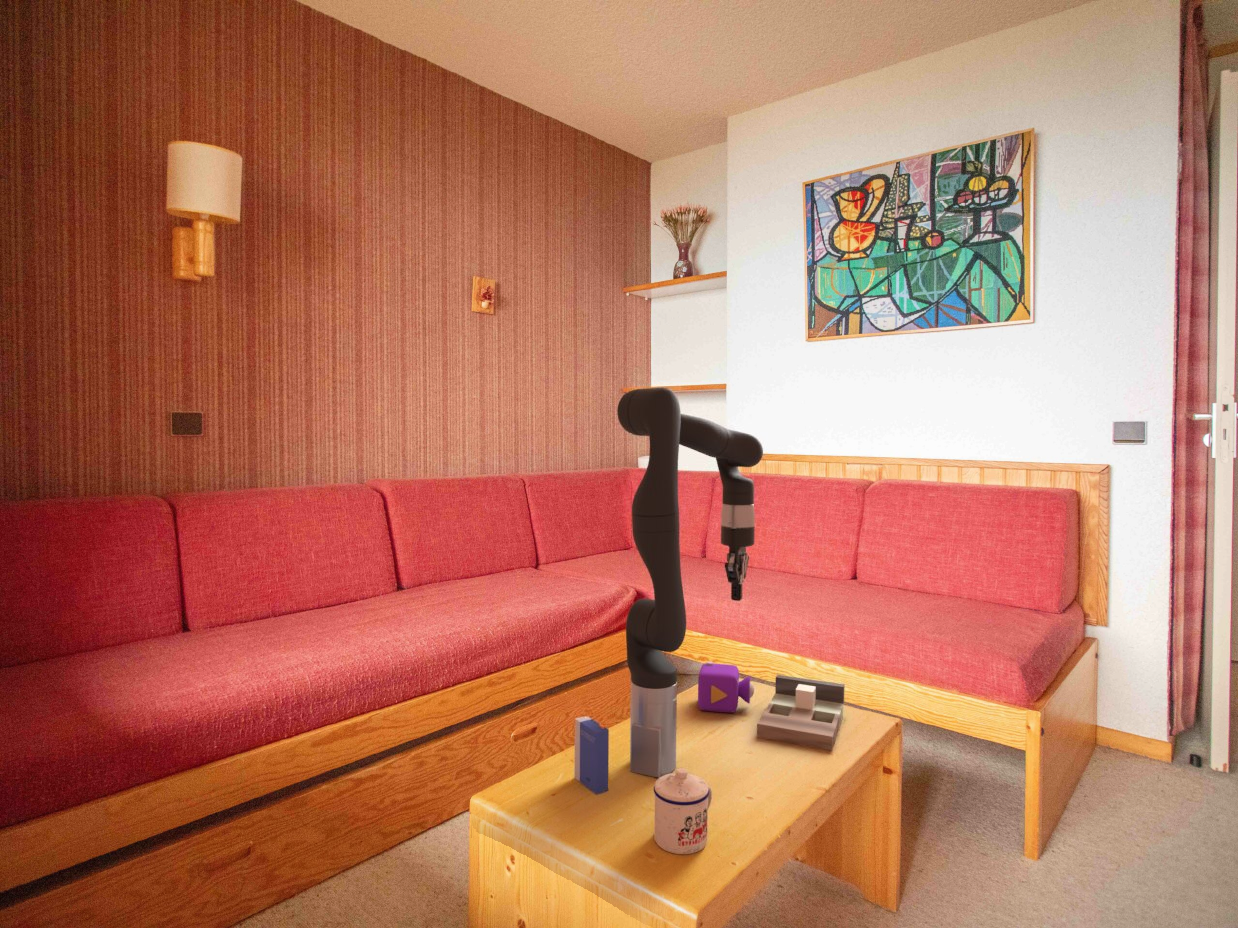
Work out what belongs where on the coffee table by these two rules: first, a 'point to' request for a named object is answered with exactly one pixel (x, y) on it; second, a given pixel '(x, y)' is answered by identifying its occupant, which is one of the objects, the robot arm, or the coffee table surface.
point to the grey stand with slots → (803, 714)
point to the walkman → (591, 754)
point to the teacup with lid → (681, 812)
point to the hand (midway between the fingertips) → (736, 599)
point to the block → (805, 696)
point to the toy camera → (722, 688)
